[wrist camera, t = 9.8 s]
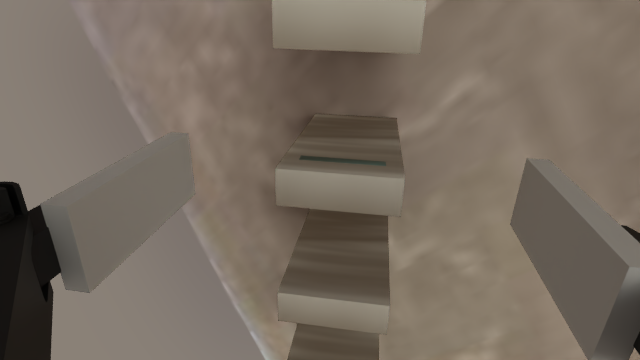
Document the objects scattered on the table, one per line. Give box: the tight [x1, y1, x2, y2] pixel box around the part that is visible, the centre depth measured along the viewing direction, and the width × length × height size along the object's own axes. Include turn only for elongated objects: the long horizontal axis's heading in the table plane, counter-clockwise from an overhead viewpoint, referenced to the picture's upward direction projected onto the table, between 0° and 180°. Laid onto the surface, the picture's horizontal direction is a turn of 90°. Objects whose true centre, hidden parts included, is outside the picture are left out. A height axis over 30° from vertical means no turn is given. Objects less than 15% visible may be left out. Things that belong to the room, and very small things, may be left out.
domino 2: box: [275, 113, 405, 217], centre depth 20 cm, size 2×5×10 cm, turn 89°
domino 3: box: [278, 209, 390, 335], centre depth 22 cm, size 2×5×10 cm, turn 88°
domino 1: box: [272, 0, 426, 54], centre depth 17 cm, size 2×5×10 cm, turn 89°
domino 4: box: [287, 323, 379, 360], centre depth 24 cm, size 2×5×10 cm, turn 88°
